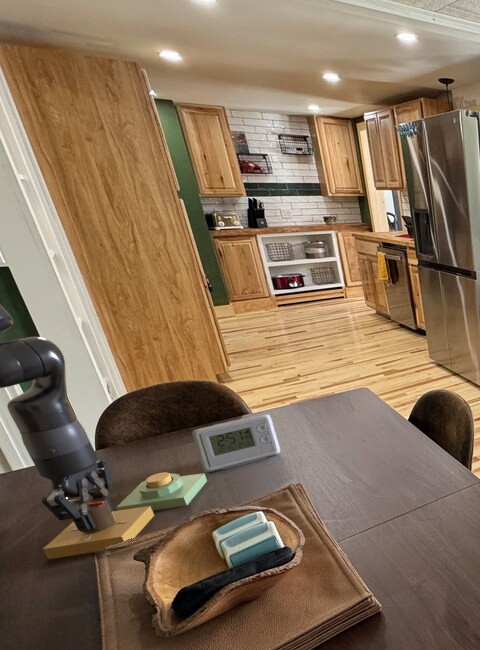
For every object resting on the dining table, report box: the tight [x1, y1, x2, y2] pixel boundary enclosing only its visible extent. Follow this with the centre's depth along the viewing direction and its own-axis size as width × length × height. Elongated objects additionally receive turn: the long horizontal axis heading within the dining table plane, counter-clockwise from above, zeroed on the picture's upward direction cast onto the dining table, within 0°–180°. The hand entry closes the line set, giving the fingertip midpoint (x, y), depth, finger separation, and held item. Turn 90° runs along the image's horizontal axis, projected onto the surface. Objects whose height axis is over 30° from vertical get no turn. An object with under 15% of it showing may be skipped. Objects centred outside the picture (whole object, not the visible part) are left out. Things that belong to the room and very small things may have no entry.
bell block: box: [115, 473, 208, 512], centre depth 106 cm, size 12×10×4 cm
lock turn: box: [74, 498, 116, 533], centre depth 92 cm, size 5×5×5 cm
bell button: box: [145, 471, 172, 489], centre depth 105 cm, size 4×4×2 cm
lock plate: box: [42, 506, 155, 560], centre depth 94 cm, size 12×10×3 cm
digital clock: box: [191, 413, 281, 473], centre depth 119 cm, size 16×9×11 cm, turn 116°
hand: (97, 521), depth 93 cm, fingers closed on lock turn, 4 cm apart
